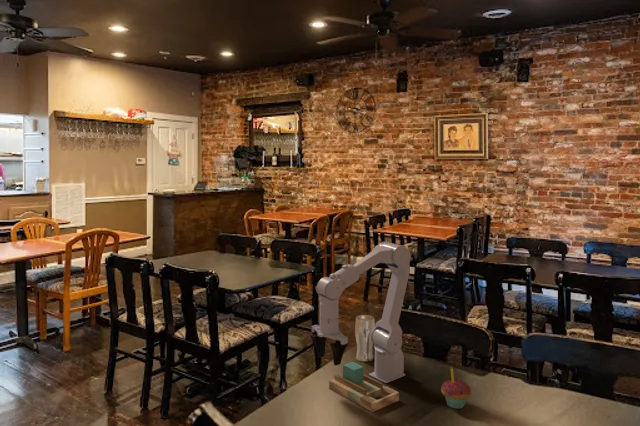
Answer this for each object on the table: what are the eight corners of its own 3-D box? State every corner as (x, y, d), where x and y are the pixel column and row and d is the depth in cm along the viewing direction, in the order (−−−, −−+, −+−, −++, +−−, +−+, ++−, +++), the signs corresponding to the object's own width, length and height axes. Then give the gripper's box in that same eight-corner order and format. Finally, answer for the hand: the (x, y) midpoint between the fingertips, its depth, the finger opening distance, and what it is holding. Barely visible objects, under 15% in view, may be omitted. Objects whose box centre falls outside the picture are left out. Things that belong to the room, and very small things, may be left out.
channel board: (355, 378, 165) (355, 366, 165) (398, 400, 151) (399, 387, 150) (329, 388, 159) (329, 376, 158) (372, 412, 144) (372, 398, 143)
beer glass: (373, 363, 178) (374, 321, 176) (353, 361, 179) (354, 320, 178) (375, 355, 185) (375, 315, 183) (356, 354, 186) (356, 314, 184)
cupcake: (454, 414, 143) (455, 373, 141) (434, 401, 150) (435, 362, 149) (477, 407, 147) (478, 367, 145) (456, 395, 154) (457, 357, 153)
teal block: (352, 376, 161) (352, 361, 160) (363, 382, 157) (363, 366, 157) (342, 380, 159) (343, 364, 158) (353, 385, 155) (354, 370, 154)
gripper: (303, 314, 157) (304, 356, 159) (335, 326, 146) (335, 371, 147) (321, 309, 161) (321, 350, 163) (352, 321, 150) (352, 365, 152)
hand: (329, 360), depth 156 cm, fingers open, 7 cm apart
